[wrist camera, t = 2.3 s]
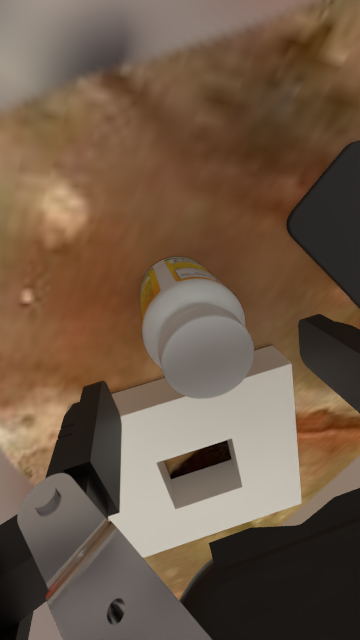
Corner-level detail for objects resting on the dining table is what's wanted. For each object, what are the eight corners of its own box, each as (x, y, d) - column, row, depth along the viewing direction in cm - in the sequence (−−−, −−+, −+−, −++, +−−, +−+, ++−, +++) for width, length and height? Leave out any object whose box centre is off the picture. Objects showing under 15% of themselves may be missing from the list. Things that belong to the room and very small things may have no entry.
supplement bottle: (190, 241, 18) (244, 271, 10) (221, 303, 21) (288, 373, 12) (124, 280, 19) (118, 343, 10) (161, 337, 21) (183, 430, 12)
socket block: (272, 345, 23) (291, 363, 20) (286, 476, 30) (301, 503, 28) (67, 407, 22) (58, 435, 19) (134, 527, 29) (134, 560, 27)
